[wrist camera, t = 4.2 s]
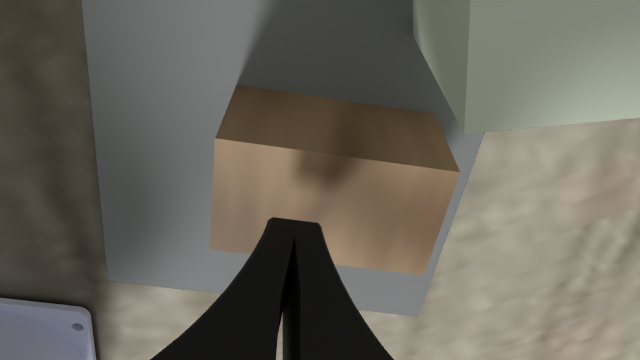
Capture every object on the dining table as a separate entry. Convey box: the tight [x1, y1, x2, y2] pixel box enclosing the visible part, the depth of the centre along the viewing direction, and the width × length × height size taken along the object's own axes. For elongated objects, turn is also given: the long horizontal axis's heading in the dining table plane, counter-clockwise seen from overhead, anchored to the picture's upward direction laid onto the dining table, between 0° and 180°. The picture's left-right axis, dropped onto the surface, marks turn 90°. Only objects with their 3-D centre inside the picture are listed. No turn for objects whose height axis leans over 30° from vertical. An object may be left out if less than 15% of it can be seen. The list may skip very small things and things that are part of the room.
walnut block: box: [210, 85, 460, 275], centre depth 17 cm, size 4×4×7 cm
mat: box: [81, 0, 485, 317], centre depth 19 cm, size 16×14×1 cm
